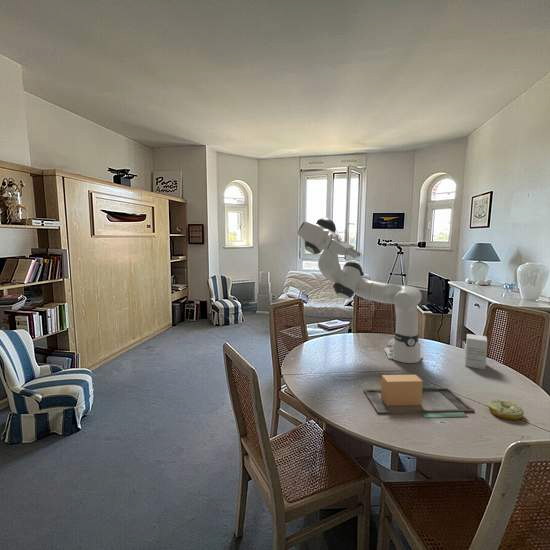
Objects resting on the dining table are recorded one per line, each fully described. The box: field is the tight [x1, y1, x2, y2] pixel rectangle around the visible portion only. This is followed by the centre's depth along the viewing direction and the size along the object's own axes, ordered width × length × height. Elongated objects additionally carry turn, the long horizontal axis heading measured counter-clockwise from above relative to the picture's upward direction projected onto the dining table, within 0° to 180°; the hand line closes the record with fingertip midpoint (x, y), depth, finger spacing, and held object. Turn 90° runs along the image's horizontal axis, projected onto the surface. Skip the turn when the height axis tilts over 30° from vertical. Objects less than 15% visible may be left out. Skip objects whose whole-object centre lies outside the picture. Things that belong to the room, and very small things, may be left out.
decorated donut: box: [487, 399, 525, 421], centre depth 120 cm, size 10×11×4 cm
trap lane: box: [363, 385, 476, 419], centre depth 130 cm, size 24×37×1 cm, turn 91°
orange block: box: [380, 374, 423, 407], centre depth 129 cm, size 6×14×10 cm, turn 91°
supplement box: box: [464, 333, 488, 370], centre depth 165 cm, size 9×9×15 cm
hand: (358, 255), depth 140 cm, fingers open, 8 cm apart
